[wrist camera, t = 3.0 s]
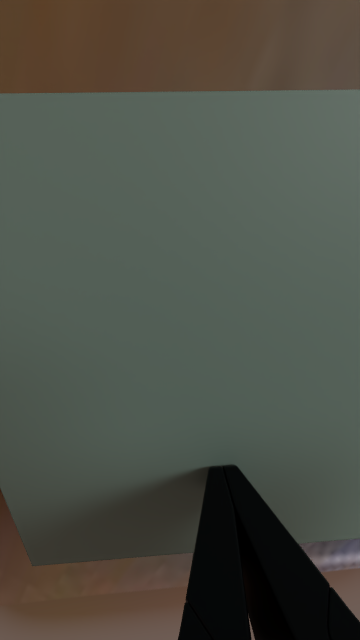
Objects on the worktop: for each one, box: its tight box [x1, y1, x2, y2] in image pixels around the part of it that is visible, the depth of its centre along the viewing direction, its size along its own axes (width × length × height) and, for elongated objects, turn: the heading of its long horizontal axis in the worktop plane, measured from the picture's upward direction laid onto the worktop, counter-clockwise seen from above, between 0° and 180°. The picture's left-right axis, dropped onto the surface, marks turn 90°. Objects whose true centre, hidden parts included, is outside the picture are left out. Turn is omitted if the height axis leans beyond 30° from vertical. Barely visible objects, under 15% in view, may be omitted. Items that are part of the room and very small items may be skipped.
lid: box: [0, 90, 360, 566], centre depth 8 cm, size 13×13×1 cm
